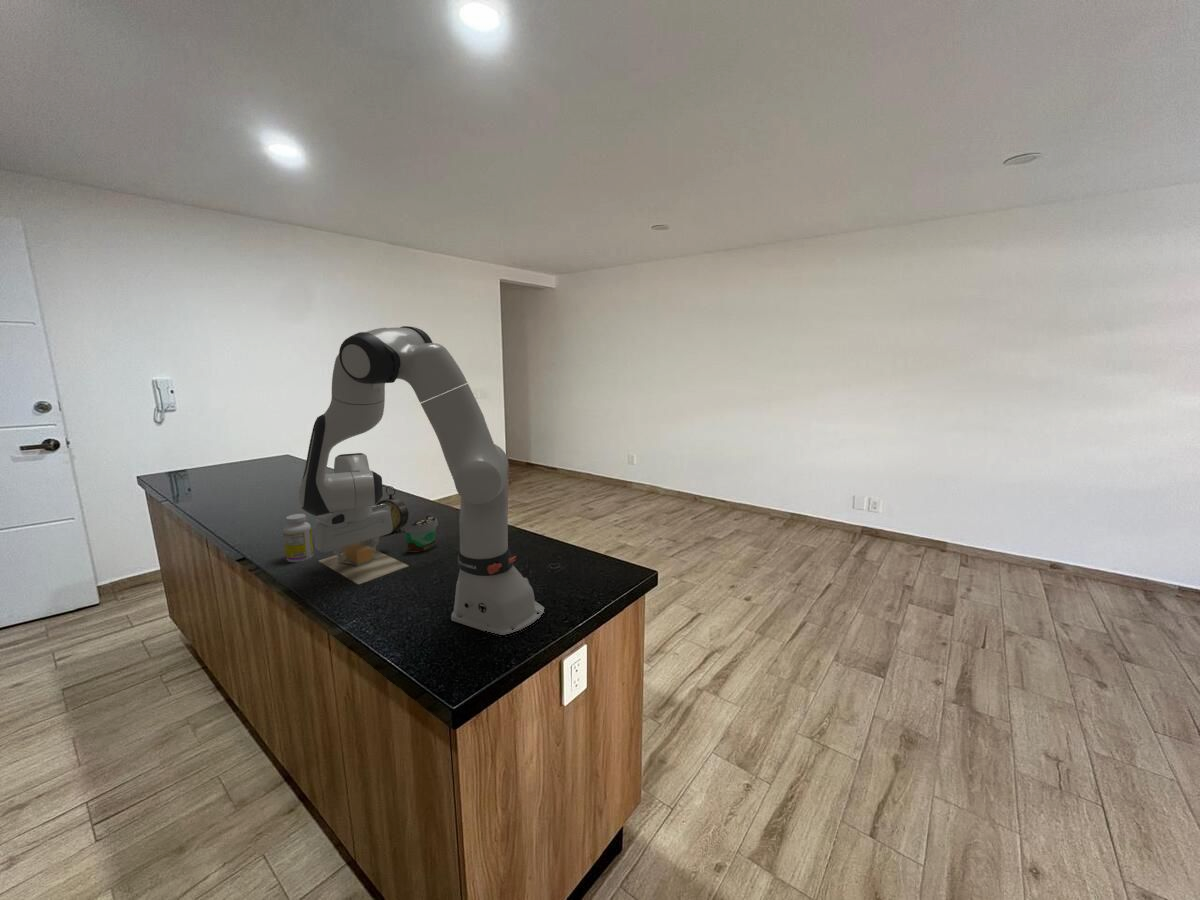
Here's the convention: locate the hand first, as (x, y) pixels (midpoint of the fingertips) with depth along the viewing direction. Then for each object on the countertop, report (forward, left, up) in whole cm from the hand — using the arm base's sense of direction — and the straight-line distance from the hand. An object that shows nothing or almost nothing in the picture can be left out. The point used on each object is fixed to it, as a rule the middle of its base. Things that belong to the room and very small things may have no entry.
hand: (357, 556), depth 128 cm
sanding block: (0, 0, -1) cm, 1 cm away
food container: (-6, -18, -3) cm, 19 cm away
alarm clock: (+16, -20, -3) cm, 26 cm away
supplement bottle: (+17, +8, -3) cm, 19 cm away
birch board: (-3, 0, -3) cm, 4 cm away
